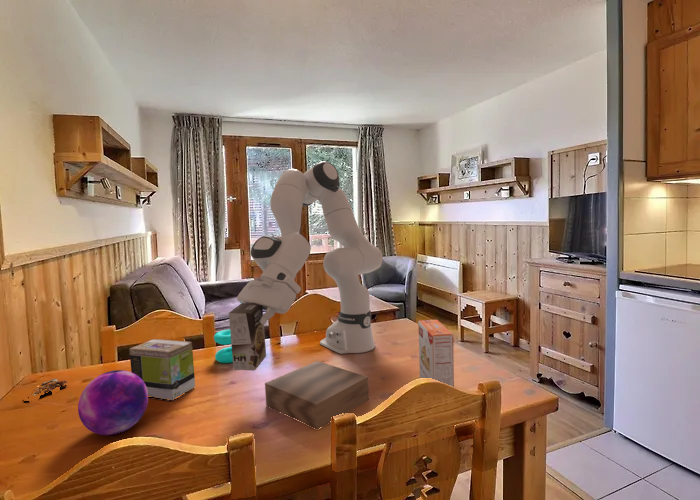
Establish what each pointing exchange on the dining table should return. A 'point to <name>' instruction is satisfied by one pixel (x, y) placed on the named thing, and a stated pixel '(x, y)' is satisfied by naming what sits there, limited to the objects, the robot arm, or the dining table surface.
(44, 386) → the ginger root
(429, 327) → the cracker box
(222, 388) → the dining table surface
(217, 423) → the dining table surface
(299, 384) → the walnut block
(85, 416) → the decorative orb
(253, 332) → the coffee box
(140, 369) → the tea box
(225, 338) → the donuts
